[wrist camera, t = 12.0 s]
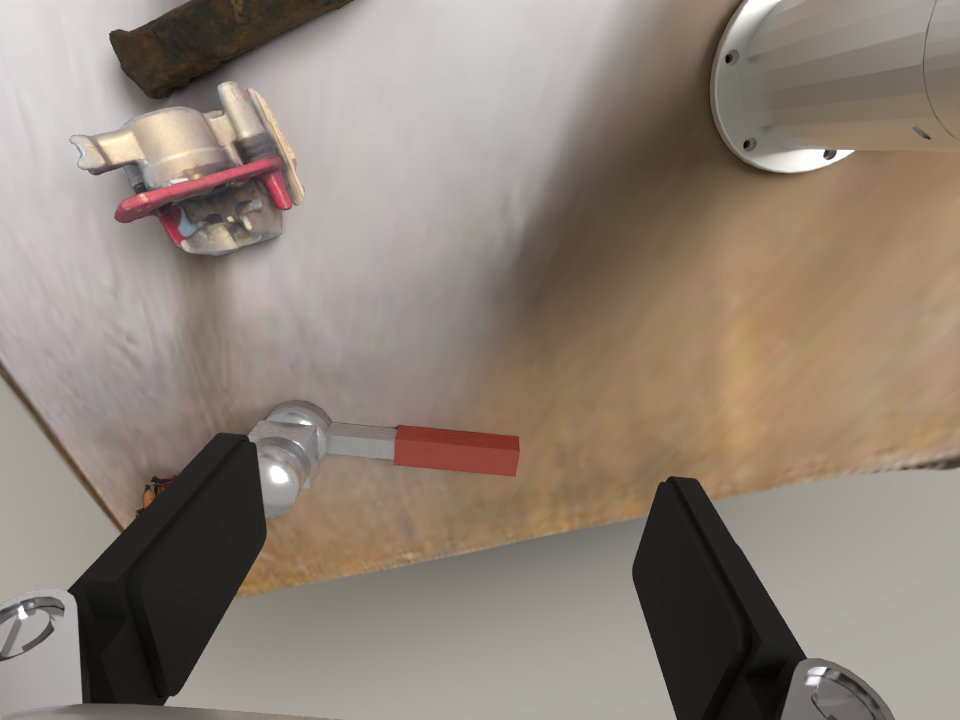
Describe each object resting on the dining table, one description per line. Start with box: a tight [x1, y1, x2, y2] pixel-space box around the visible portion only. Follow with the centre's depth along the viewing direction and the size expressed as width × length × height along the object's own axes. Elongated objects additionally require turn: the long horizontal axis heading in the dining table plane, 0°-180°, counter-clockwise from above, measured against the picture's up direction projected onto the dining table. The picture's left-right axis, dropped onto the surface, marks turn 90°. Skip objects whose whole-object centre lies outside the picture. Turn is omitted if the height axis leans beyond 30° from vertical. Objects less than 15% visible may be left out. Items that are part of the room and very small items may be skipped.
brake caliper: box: [69, 81, 305, 256], centre depth 31 cm, size 11×11×12 cm
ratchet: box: [266, 400, 520, 477], centre depth 42 cm, size 23×6×5 cm, turn 84°
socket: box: [247, 420, 319, 519], centre depth 39 cm, size 5×5×6 cm
